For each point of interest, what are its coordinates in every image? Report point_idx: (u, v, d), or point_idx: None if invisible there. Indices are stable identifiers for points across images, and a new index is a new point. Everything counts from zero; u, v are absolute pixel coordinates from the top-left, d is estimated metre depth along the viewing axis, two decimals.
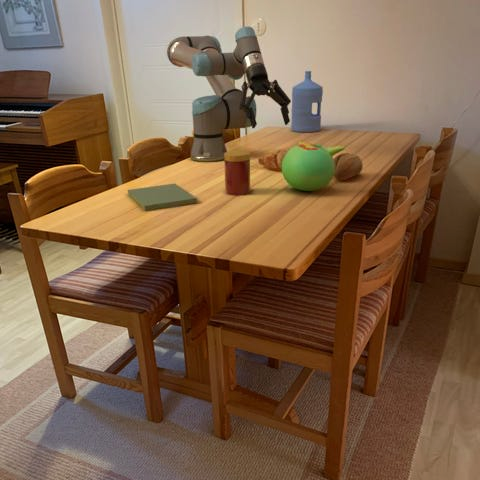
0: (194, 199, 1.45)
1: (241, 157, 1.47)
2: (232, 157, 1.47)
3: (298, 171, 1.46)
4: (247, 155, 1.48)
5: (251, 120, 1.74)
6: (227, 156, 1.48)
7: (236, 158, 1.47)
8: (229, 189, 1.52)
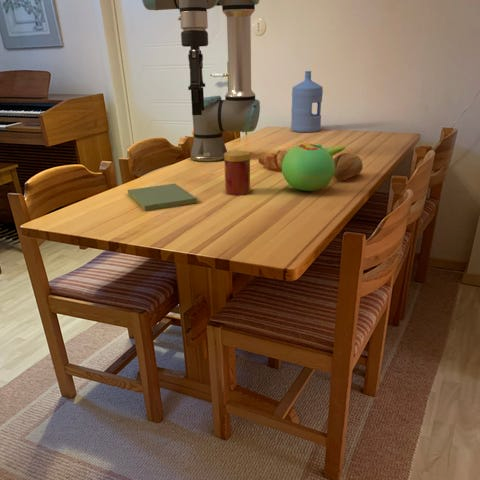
0: (194, 199, 1.45)
1: (241, 157, 1.47)
2: (232, 157, 1.47)
3: (298, 171, 1.46)
4: (247, 155, 1.48)
5: None
6: (227, 156, 1.48)
7: (236, 158, 1.47)
8: (229, 189, 1.52)
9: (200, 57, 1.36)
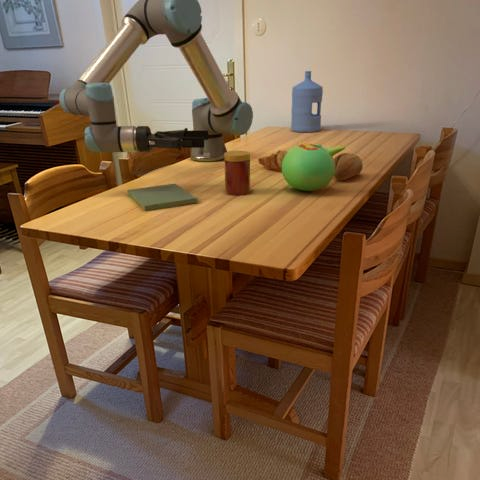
0: (194, 199, 1.45)
1: (241, 157, 1.47)
2: (232, 157, 1.47)
3: (298, 171, 1.46)
4: (247, 155, 1.48)
5: None
6: (227, 156, 1.48)
7: (236, 158, 1.47)
8: (229, 189, 1.52)
9: (157, 135, 1.46)
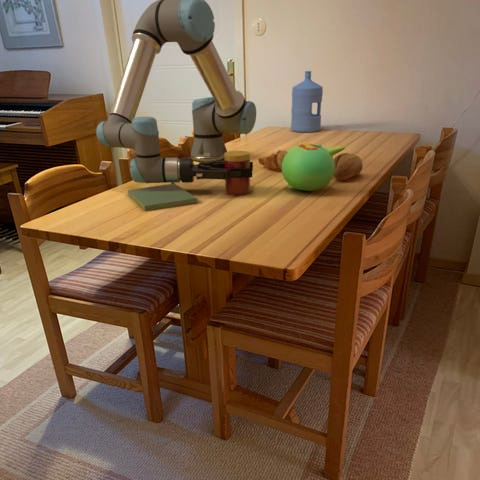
0: (194, 199, 1.45)
1: (241, 157, 1.47)
2: (232, 157, 1.47)
3: (298, 171, 1.46)
4: (247, 155, 1.48)
5: None
6: (227, 156, 1.48)
7: (236, 158, 1.47)
8: (229, 189, 1.52)
9: (201, 166, 1.50)
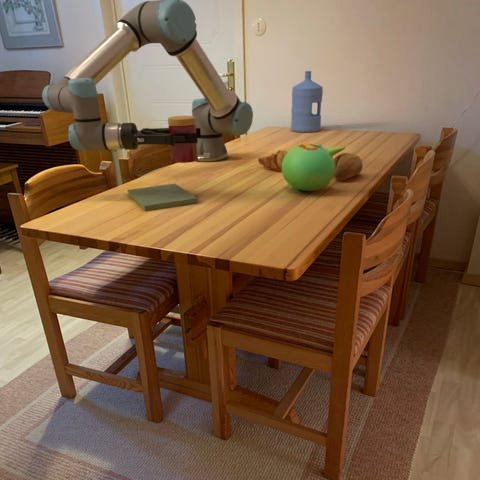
0: (194, 199, 1.45)
1: (185, 121, 1.38)
2: (175, 121, 1.38)
3: (298, 171, 1.46)
4: (192, 119, 1.39)
5: None
6: (170, 120, 1.39)
7: (179, 122, 1.38)
8: (174, 156, 1.44)
9: (143, 132, 1.41)
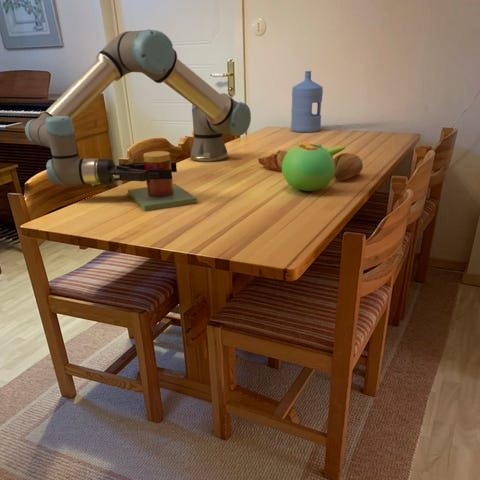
0: (194, 199, 1.45)
1: (159, 158, 1.41)
2: (150, 158, 1.41)
3: (298, 171, 1.46)
4: (166, 156, 1.42)
5: None
6: (145, 157, 1.42)
7: (154, 159, 1.41)
8: (150, 191, 1.47)
9: (119, 167, 1.45)
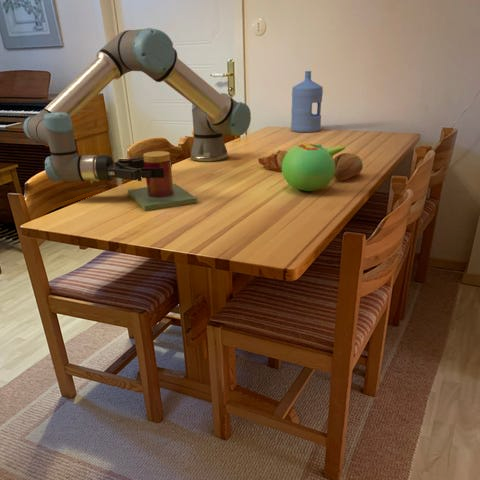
0: (194, 199, 1.45)
1: (159, 158, 1.41)
2: (150, 158, 1.41)
3: (298, 171, 1.46)
4: (166, 156, 1.42)
5: None
6: (145, 157, 1.42)
7: (154, 159, 1.41)
8: (150, 191, 1.47)
9: (117, 164, 1.44)
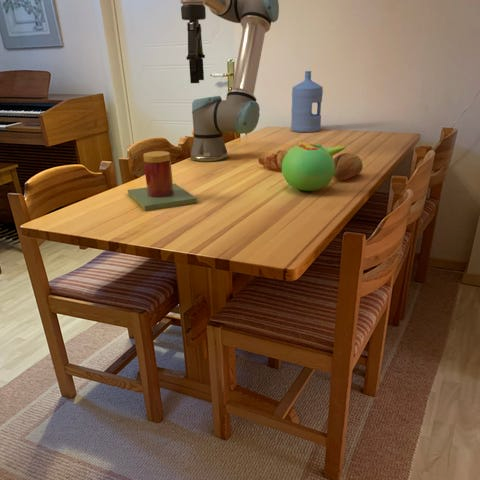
0: (194, 199, 1.45)
1: (159, 158, 1.41)
2: (150, 158, 1.41)
3: (298, 171, 1.46)
4: (166, 156, 1.42)
5: None
6: (145, 157, 1.42)
7: (154, 159, 1.41)
8: (150, 191, 1.47)
9: (198, 29, 1.50)
